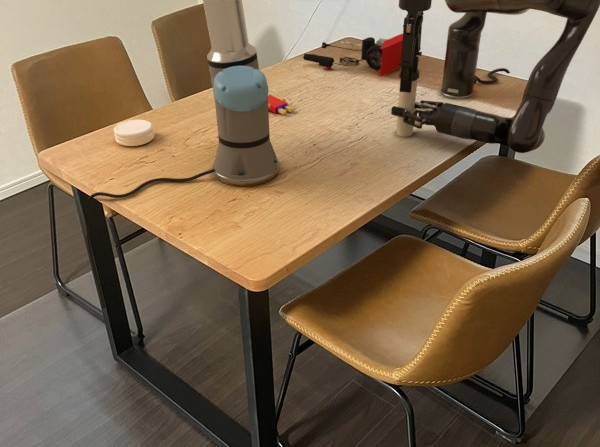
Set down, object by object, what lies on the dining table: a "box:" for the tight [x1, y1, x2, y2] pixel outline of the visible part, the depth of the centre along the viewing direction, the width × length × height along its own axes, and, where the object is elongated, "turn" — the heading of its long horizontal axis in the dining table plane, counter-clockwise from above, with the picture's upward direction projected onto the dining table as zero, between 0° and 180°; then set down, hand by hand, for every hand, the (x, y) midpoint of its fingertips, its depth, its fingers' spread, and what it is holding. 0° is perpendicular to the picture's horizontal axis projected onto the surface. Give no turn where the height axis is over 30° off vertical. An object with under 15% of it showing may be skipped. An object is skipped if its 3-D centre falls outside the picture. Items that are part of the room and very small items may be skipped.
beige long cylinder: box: [395, 78, 418, 138], centre depth 158 cm, size 4×4×16 cm
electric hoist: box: [302, 32, 403, 77], centre depth 210 cm, size 10×27×30 cm
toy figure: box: [268, 94, 294, 115], centre depth 178 cm, size 2×7×12 cm
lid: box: [398, 68, 420, 81], centre depth 154 cm, size 5×5×2 cm
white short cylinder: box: [113, 118, 155, 147], centre depth 161 cm, size 10×10×4 cm
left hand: (408, 86), depth 156 cm, fingers open, 7 cm apart
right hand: (396, 107), depth 160 cm, fingers closed on beige long cylinder, 4 cm apart
